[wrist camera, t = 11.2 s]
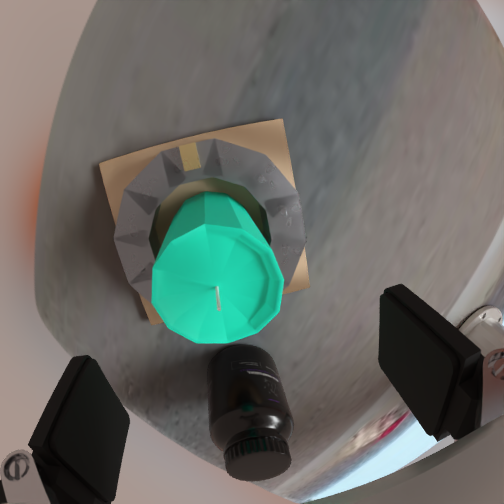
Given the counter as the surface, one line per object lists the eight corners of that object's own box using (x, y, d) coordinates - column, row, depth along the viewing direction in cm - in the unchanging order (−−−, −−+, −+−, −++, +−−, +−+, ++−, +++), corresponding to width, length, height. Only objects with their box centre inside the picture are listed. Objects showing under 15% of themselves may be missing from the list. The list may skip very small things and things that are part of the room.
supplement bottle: (271, 335, 28) (308, 433, 17) (276, 385, 31) (306, 477, 19) (199, 348, 28) (203, 452, 16) (213, 396, 30) (222, 492, 19)
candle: (262, 207, 23) (318, 265, 12) (233, 276, 25) (258, 378, 13) (187, 179, 22) (168, 211, 10) (161, 252, 23) (130, 345, 12)
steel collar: (302, 282, 26) (317, 304, 22) (155, 318, 25) (149, 344, 21) (276, 127, 21) (290, 123, 18) (107, 168, 20) (89, 173, 17)
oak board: (306, 282, 27) (309, 287, 26) (152, 319, 26) (151, 325, 25) (279, 119, 22) (282, 118, 21) (103, 162, 21) (98, 163, 20)
